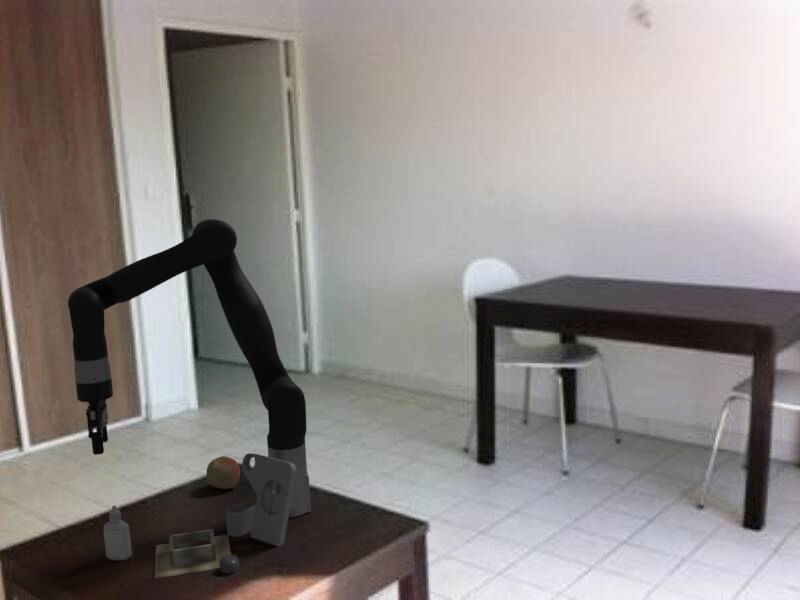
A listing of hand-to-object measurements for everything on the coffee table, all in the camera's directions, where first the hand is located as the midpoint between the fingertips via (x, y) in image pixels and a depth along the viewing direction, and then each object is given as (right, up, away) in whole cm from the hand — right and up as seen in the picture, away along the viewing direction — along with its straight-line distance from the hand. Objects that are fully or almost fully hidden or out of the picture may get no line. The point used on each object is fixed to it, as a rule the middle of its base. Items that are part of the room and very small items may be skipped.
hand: (100, 447), depth 187 cm
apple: (+20, -18, +37) cm, 46 cm away
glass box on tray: (+22, -24, -4) cm, 33 cm away
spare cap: (+31, -24, -11) cm, 41 cm away
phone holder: (+36, -22, +6) cm, 42 cm away
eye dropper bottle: (+5, -24, -1) cm, 25 cm away
